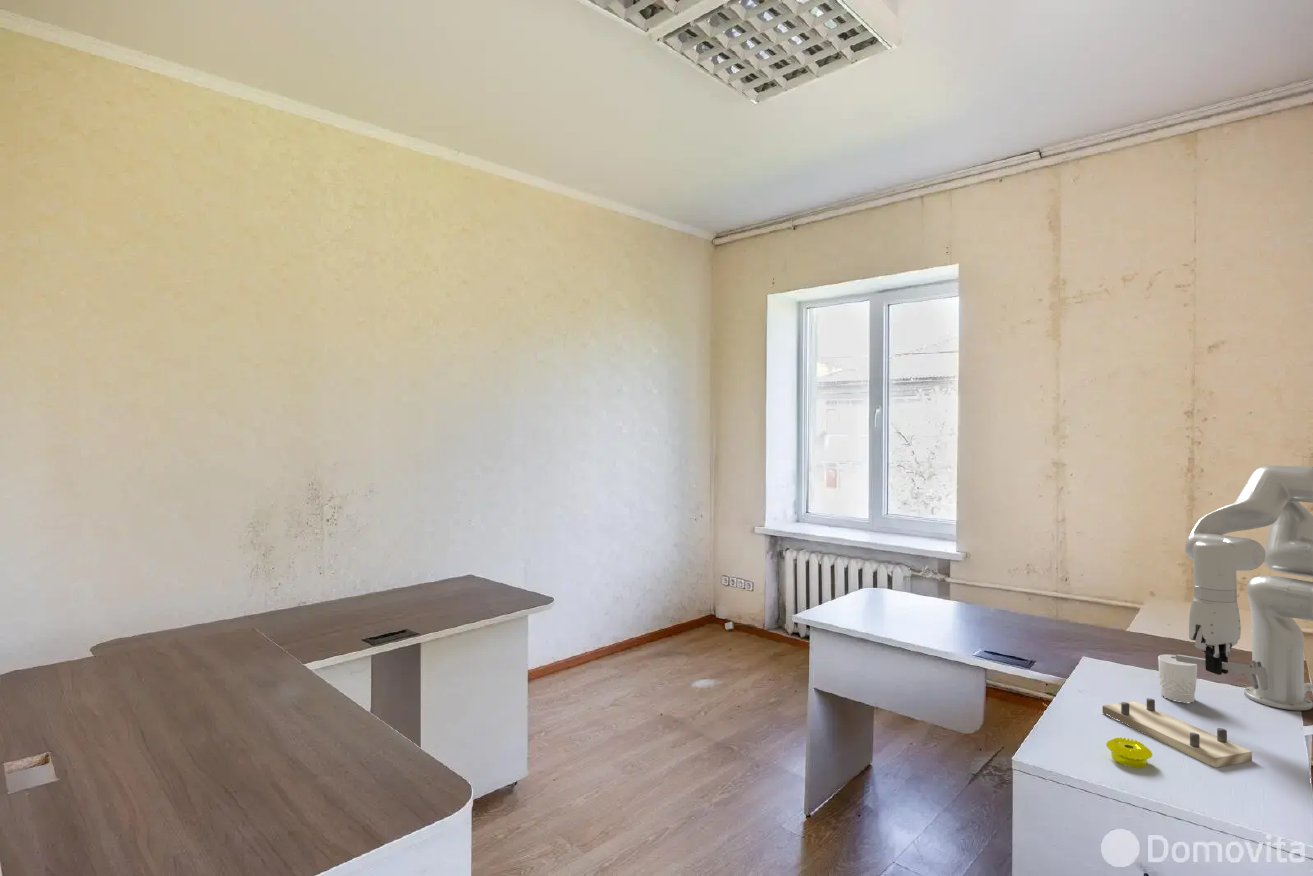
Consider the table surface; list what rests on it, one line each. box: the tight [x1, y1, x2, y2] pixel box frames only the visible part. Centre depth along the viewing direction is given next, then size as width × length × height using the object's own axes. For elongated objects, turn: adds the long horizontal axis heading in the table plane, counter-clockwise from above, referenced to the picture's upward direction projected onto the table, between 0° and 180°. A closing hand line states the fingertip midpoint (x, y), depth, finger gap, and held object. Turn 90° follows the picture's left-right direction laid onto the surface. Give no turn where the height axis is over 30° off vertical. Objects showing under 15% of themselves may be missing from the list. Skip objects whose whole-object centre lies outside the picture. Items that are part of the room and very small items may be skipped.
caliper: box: [1171, 654, 1268, 690], centre depth 151 cm, size 20×1×6 cm, turn 13°
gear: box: [1105, 737, 1153, 769], centre depth 138 cm, size 8×4×8 cm
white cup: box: [1157, 654, 1198, 704], centre depth 167 cm, size 8×8×10 cm
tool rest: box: [1102, 697, 1253, 768], centre depth 148 cm, size 10×26×4 cm, turn 13°
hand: (1216, 671), depth 151 cm, fingers closed on caliper, 1 cm apart
